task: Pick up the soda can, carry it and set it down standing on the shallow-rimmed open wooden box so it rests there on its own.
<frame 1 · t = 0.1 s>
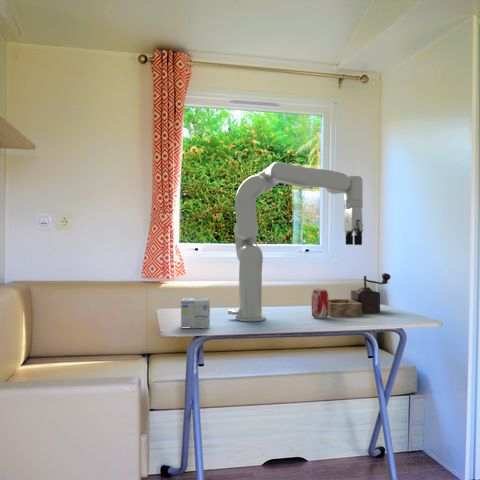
hand: (353, 244, 179), 31 cm above the table, tool pointing down, fingers open, 9 cm apart
soda can: (320, 318, 177), on the table
light bulb box: (195, 327, 158), on the table
manual coffee grinder: (370, 311, 192), on the table
open wooden box: (340, 313, 187), on the table
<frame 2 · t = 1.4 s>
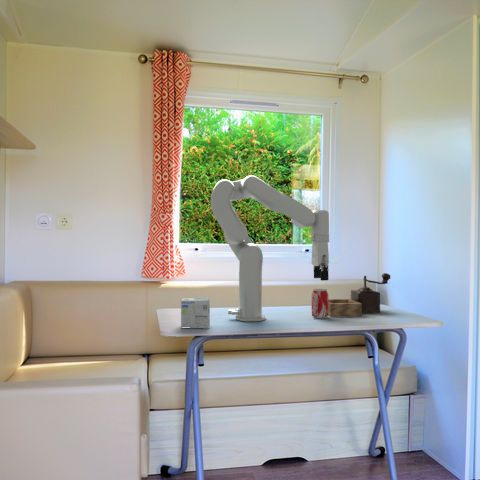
hand: (320, 279, 177), 16 cm above the table, tool pointing down, fingers open, 9 cm apart
nothing on the table moved.
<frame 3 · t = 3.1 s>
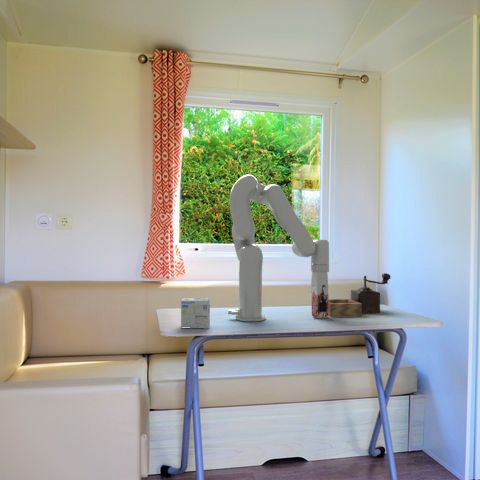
hand: (320, 309, 177), 3 cm above the table, tool pointing down, fingers closed on soda can, 6 cm apart
soda can: (320, 318, 177), on the table, touching gripper
everything else where it was.
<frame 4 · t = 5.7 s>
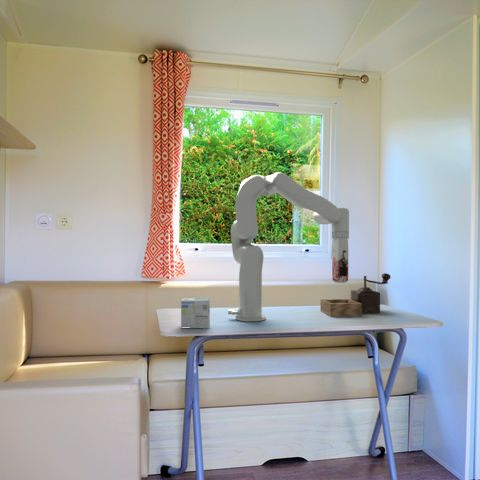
hand: (340, 274, 186), 17 cm above the table, tool pointing down, fingers closed on soda can, 6 cm apart
soda can: (340, 282, 186), point 14 cm above the table, touching gripper
everything else where it was.
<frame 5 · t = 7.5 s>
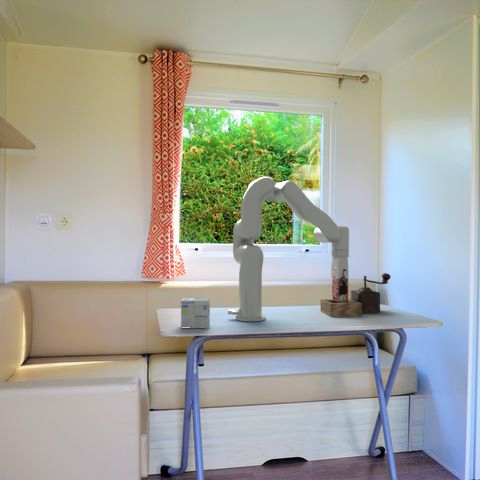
hand: (340, 293, 187), 9 cm above the table, tool pointing down, fingers closed on soda can, 6 cm apart
soda can: (340, 300, 187), point 6 cm above the table, touching gripper
everything else where it was.
when the fingers open (9 cm above the table, at t = 8.8 s): soda can drops 1 cm, resting on open wooden box.
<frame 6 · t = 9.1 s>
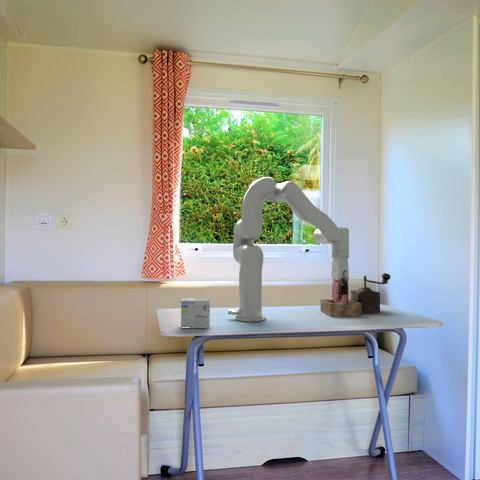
hand: (340, 293, 187), 9 cm above the table, tool pointing down, fingers open, 9 cm apart
soda can: (340, 305, 186), point 4 cm above the table, touching open wooden box
everything else where it was.
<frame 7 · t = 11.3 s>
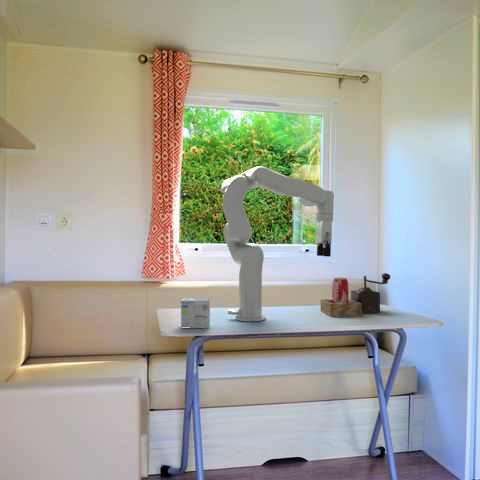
hand: (323, 256, 187), 26 cm above the table, tool pointing down, fingers open, 9 cm apart
nothing on the table moved.
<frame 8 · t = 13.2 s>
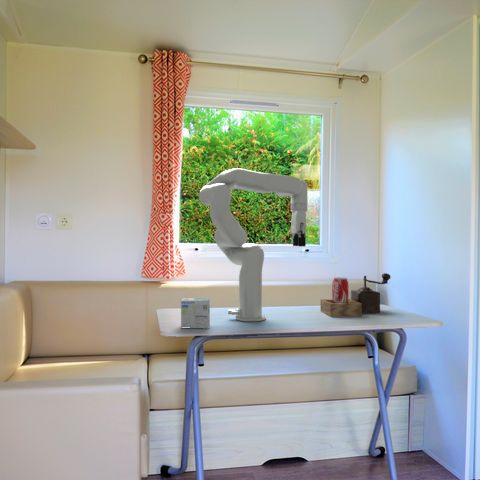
hand: (299, 246, 188), 30 cm above the table, tool pointing down, fingers open, 9 cm apart
nothing on the table moved.
at the end: soda can inside the target area on the open wooden box (0.4 cm from its centre), point 3.8 cm above the open wooden box's base; soda can tilted 0°; the gripper is holding nothing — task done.
